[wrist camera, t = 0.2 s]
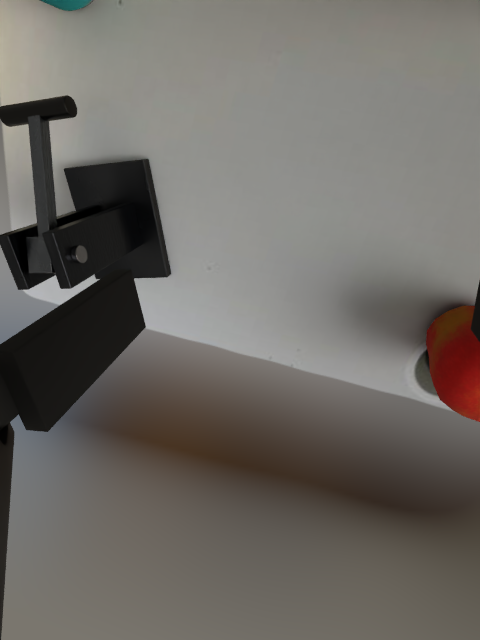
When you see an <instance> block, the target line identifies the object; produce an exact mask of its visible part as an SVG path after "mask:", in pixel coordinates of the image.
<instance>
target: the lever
mask: <svg viewBox="0 0 480 640" xmlns="http://www.w3.org/2000/svg"><path fill="white" fill-rule="evenodd" d="M76 115H77V107H76V104H75V102H74V100H73V99H72V98H71V97H70V96H68V95H66V96H60V97H54V98H48V99H42V100H36V101H30V102H24V103H18V104H12V105H6V106H1V107H0V119H1V121H2V122H3V123H4V124H5V125H6V126H9V127H12V126H19V125H26V124H29V136H30V147H31V158H32V170H33V181H34V193H35V204H36V215H37V227H38V237H26V247H27V258H28V269H29V273H45V274H52V273H55V271H54V268H53V265H52V262H51V259H50V256H49V253H48V250H47V247H46V245H45V242H44V239H43V236H42V233H44V232H46V231H49V230H52V229H55V228H57V217H56V205H55V192H54V180H53V168H52V155H51V143H50V131H49V121H52V120H59V119H66V118H73V117H75V116H76Z"/></svg>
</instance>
